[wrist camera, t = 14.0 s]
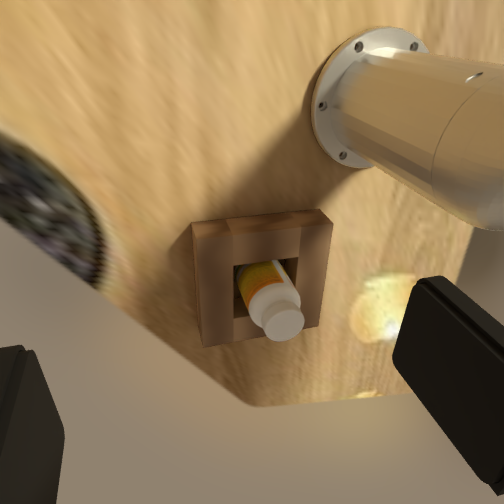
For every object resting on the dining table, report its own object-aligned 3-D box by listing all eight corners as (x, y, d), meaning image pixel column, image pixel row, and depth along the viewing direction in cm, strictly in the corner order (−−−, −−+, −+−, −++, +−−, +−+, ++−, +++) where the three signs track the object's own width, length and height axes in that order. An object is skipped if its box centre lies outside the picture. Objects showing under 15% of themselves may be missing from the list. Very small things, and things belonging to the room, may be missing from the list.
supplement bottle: (224, 280, 44) (246, 340, 36) (249, 242, 42) (278, 297, 34) (262, 294, 47) (290, 353, 39) (287, 259, 45) (322, 313, 37)
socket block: (319, 208, 42) (333, 223, 40) (307, 308, 50) (318, 326, 47) (191, 222, 39) (196, 239, 36) (198, 326, 46) (203, 347, 44)
